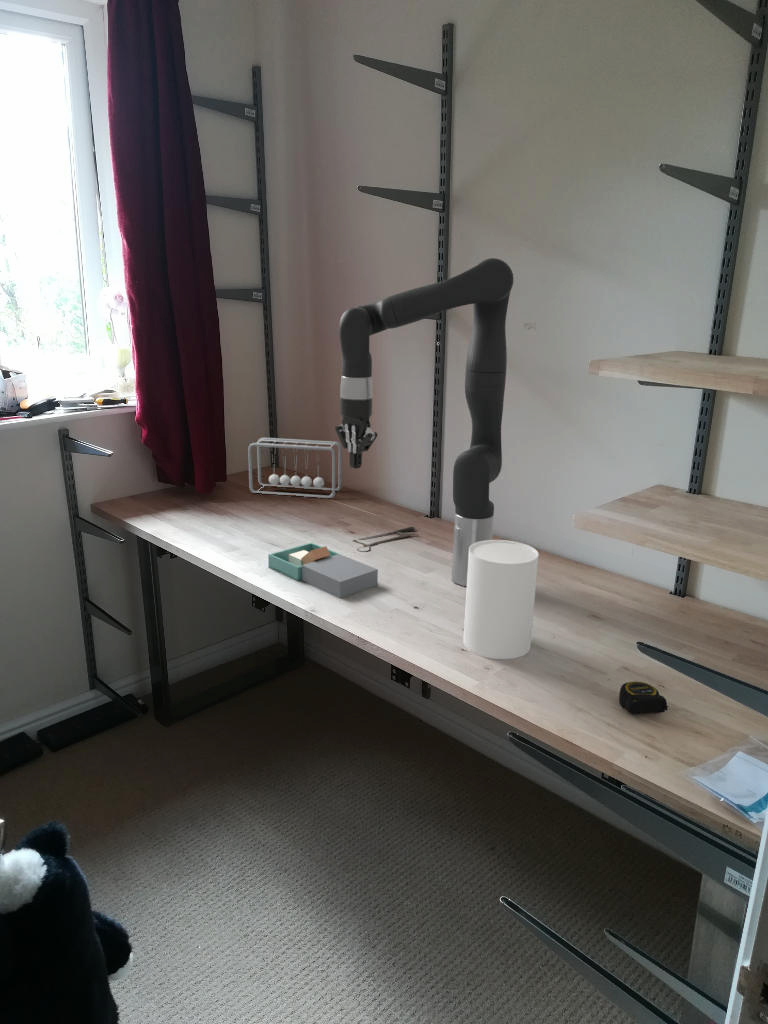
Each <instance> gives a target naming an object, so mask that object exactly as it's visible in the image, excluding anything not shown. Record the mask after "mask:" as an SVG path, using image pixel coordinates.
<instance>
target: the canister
mask: <svg viewBox="0 0 768 1024" xmlns="http://www.w3.org/2000/svg"><path fill="white" fill-rule="evenodd" d="M539 556H540V555H539V551H538V550H537V549H536V548H534V547H533V546H531V545H528V544H526V543H523V542H520V541H513V540H507V539H506V540H505V539H492V540H485V541H480V542H476V543H474V544H472V545H471V546H470V547H469V556H468V573H467V586H466V591H465V607H464V608H465V609H464V625H463V626H464V627H463V638H462V639H463V640H462V641H463V645H464V646H465V648H466V649H467V650H469V652H472V653H474V654H475V655H477V656H480V657H484V658H488V659H494V660H512V659H518V658H521V657H523V656H525V655H527V654H528V653H529V652H530V650H531V641H532V632H533V631H532V630H533V621H534V608H535V599H536V588H537V577H538V567H539Z"/></svg>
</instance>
